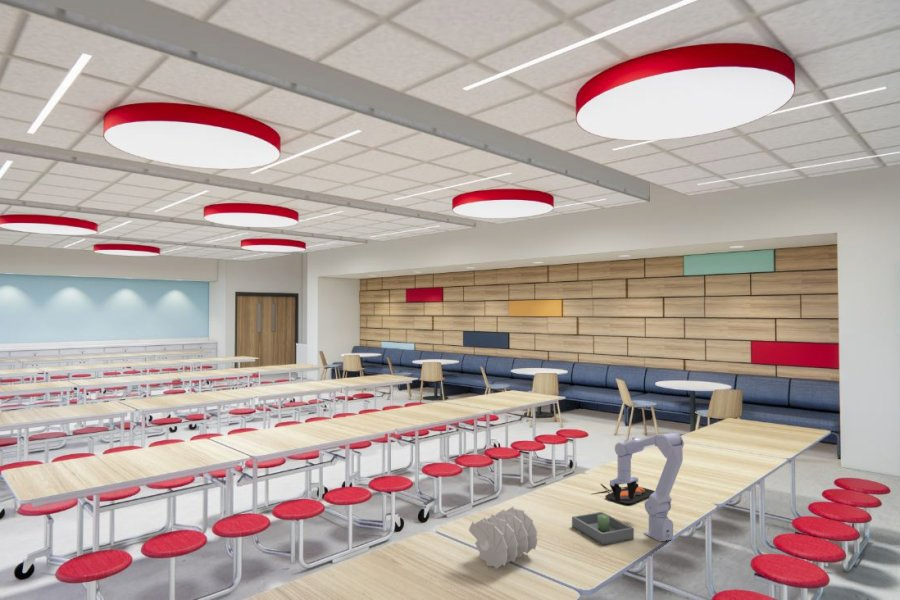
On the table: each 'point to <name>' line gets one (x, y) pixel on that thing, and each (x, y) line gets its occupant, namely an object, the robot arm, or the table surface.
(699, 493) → the table surface
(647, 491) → the sushi plate
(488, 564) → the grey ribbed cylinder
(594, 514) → the bin
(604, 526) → the green rounded tapered piece
